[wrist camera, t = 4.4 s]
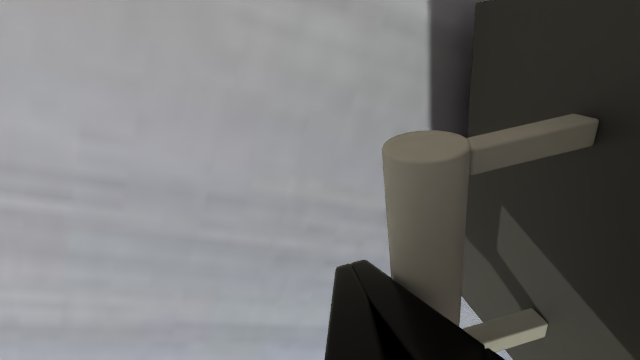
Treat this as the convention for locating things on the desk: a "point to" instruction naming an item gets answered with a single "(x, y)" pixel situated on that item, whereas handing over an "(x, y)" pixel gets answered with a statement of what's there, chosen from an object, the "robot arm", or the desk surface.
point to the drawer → (532, 186)
